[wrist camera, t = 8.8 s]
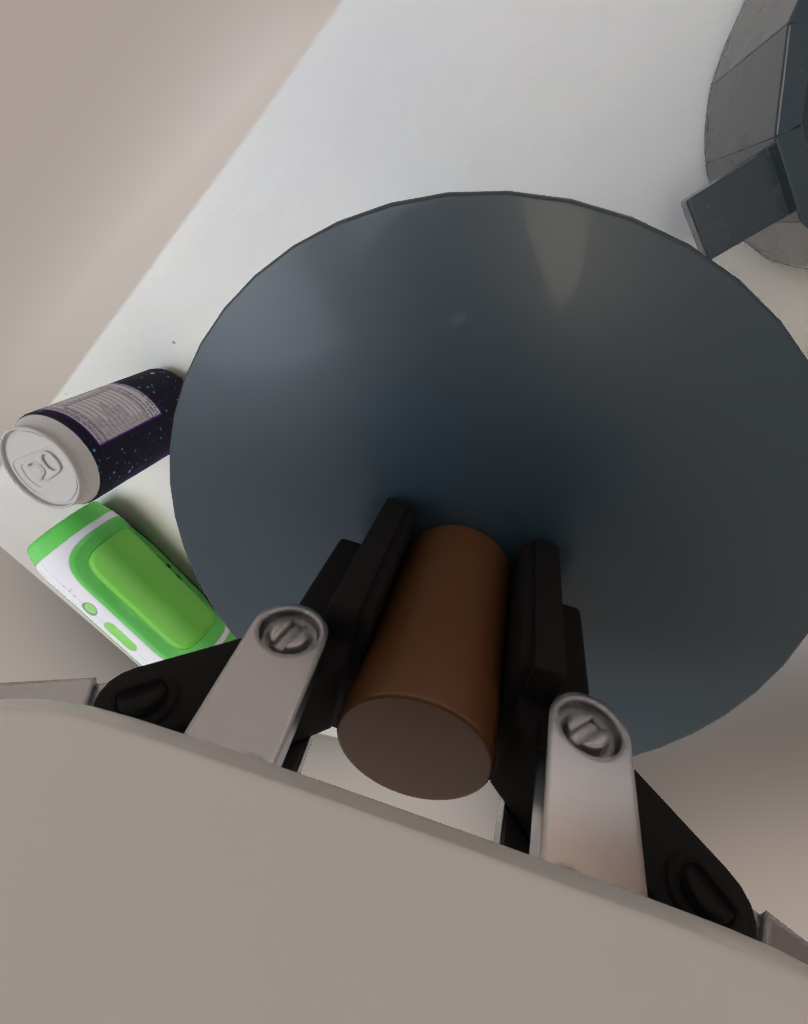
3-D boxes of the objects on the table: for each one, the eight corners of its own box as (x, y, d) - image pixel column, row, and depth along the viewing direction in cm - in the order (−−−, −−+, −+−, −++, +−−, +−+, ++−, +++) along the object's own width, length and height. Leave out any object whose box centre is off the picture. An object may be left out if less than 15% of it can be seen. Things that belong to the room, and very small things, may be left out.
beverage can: (127, 387, 37) (-26, 446, 27) (175, 351, 35) (26, 401, 25) (175, 450, 39) (49, 527, 29) (224, 420, 37) (104, 493, 27)
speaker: (77, 520, 46) (3, 567, 39) (116, 484, 42) (43, 529, 36) (209, 648, 51) (162, 708, 44) (253, 625, 47) (210, 686, 41)
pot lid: (94, 435, 14) (-165, 556, 9) (646, -53, 7) (930, -794, 2) (392, 770, 19) (337, 976, 14) (901, 669, 12) (1186, 1015, 7)
